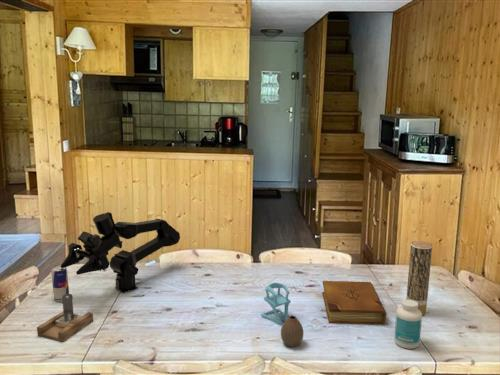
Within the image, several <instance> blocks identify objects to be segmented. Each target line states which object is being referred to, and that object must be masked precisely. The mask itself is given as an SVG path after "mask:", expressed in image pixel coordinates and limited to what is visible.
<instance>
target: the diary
mask: <svg viewBox="0 0 500 375" xmlns="http://www.w3.org/2000/svg"><path fill="white" fill-rule="evenodd" d="M322 285H323V291H321V293H322V294H321V295H322V297H323V298H322V299H323V302H324V308H325V311H326V317H327V321H328V324H337V325H339V324H340V325H344V324H345V325H365V326H366V325H367V326H369V325H371V326H372V325H374V326H385V325H386V324H387V312H386V310H385V308H384V306H383V303H382V302H381V300H380V297H379V295H378V293H377V290H376V289H375V287H374V284H373V283H372V282H371V281H351V280H350V281H345V280H322Z"/></svg>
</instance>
